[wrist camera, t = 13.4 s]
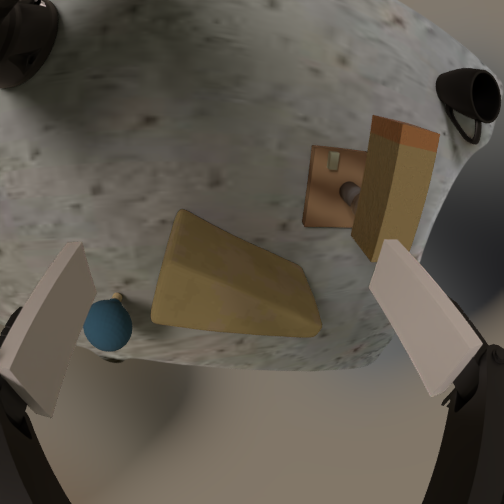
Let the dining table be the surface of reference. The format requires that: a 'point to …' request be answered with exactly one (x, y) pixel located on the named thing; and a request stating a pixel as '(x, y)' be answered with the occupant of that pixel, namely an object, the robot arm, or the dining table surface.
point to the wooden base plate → (332, 186)
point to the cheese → (230, 285)
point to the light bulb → (108, 324)
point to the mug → (470, 97)
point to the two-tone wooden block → (393, 184)
